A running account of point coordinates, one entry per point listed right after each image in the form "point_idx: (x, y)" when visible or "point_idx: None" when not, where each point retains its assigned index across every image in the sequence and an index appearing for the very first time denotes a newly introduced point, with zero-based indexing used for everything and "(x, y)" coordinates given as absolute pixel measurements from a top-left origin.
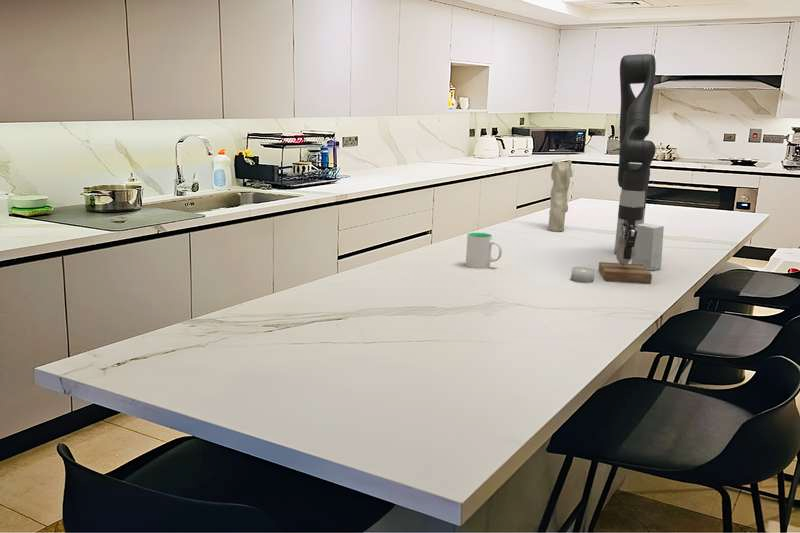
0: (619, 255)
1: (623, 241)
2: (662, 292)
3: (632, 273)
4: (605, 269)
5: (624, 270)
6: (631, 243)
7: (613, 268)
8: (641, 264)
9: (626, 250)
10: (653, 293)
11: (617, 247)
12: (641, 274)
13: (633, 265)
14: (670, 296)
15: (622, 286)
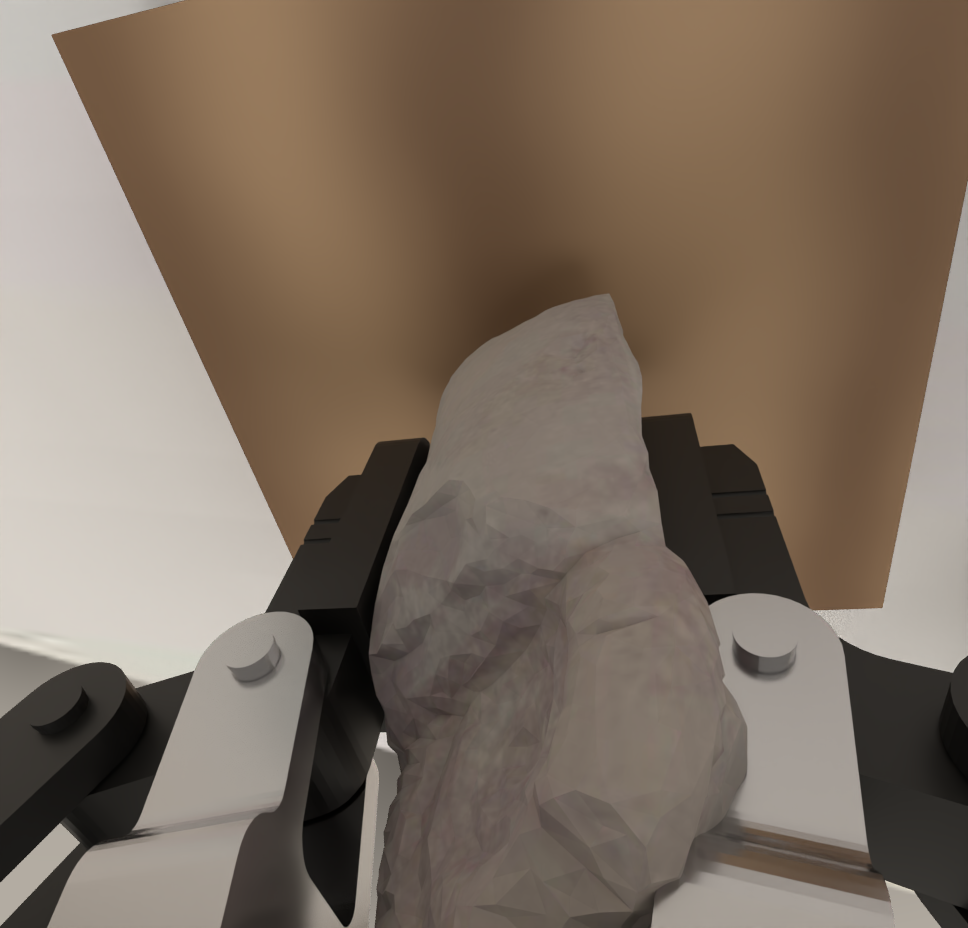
0: (478, 375)
1: (531, 719)
2: (109, 596)
3: (244, 450)
4: (248, 17)
5: (363, 361)
6: (84, 845)
7: (425, 185)
8: (876, 597)
9: (279, 590)
10: (17, 534)
11: (580, 414)
12: (286, 537)
13: (783, 501)
14: (32, 626)
15: (47, 280)
